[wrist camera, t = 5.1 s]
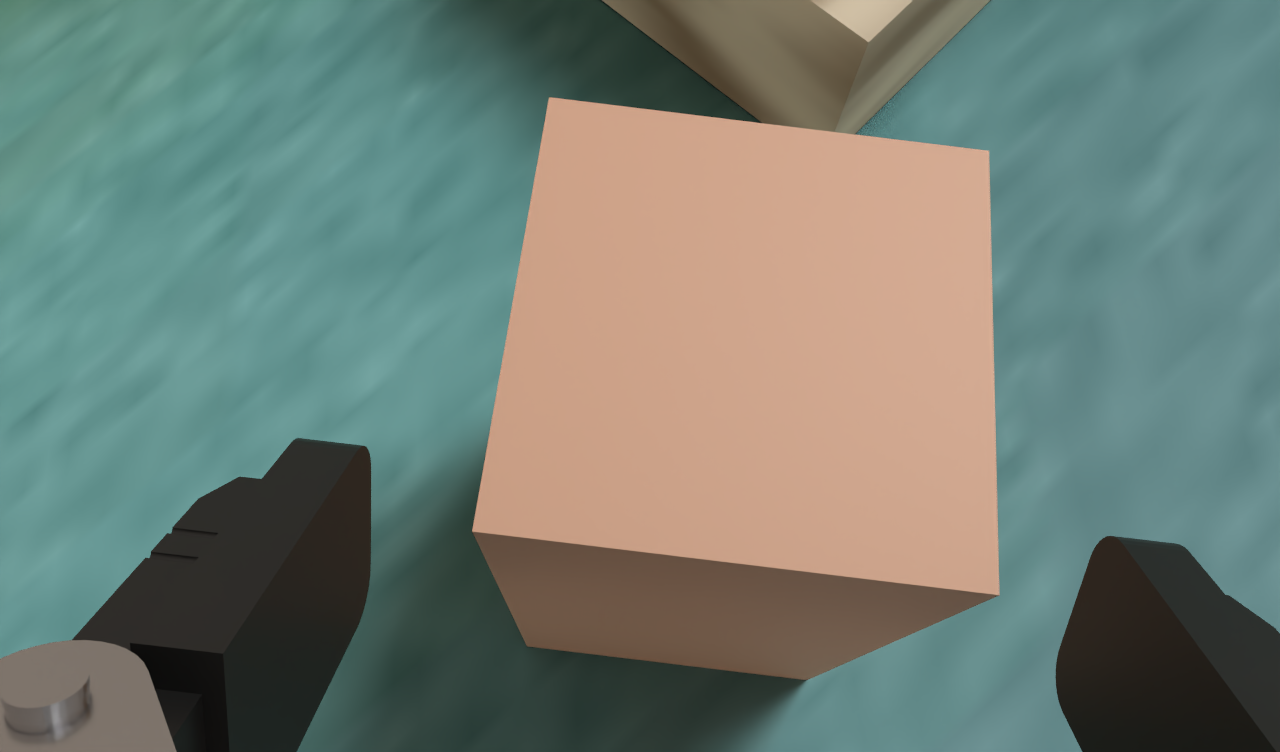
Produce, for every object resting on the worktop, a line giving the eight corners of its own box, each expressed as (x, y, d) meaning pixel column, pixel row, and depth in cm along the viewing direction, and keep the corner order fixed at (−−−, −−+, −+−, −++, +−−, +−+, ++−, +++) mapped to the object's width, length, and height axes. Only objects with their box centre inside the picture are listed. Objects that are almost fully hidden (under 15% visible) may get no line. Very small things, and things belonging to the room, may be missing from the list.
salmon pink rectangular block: (818, 416, 20) (989, 150, 11) (806, 680, 18) (1000, 594, 9) (566, 385, 20) (548, 97, 11) (527, 646, 18) (471, 531, 9)
